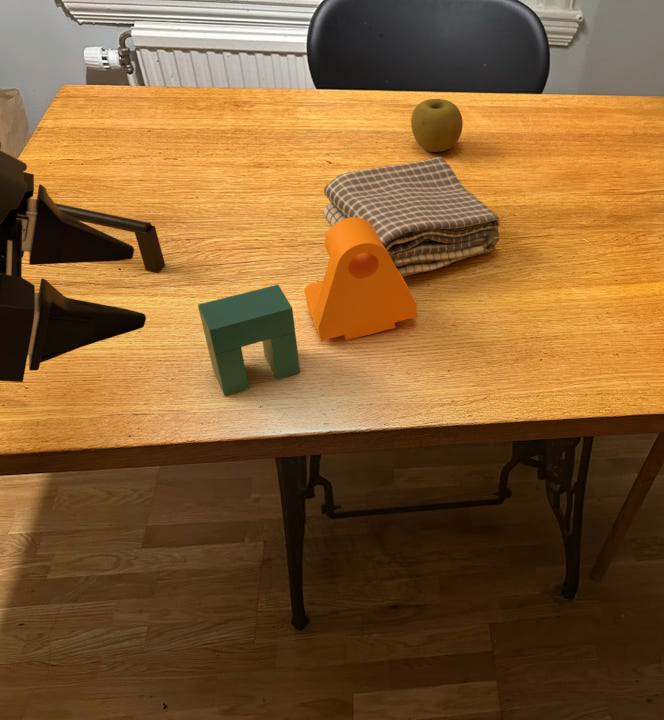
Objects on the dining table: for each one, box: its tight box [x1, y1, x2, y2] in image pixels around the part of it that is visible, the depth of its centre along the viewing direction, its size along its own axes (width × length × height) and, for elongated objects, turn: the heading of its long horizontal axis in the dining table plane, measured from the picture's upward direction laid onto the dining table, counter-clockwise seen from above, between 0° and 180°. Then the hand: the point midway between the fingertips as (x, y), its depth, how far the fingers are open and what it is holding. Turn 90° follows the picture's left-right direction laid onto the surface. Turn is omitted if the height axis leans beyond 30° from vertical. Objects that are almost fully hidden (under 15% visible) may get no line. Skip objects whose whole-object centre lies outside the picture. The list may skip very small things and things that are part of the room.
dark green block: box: [197, 284, 301, 397], centre depth 67 cm, size 8×4×8 cm, turn 121°
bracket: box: [303, 217, 418, 341], centre depth 74 cm, size 11×7×12 cm, turn 113°
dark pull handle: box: [54, 202, 166, 274], centre depth 79 cm, size 2×14×6 cm, turn 78°
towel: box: [322, 156, 501, 278], centre depth 86 cm, size 15×18×8 cm
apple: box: [410, 98, 464, 153], centre depth 106 cm, size 8×8×7 cm
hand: (138, 285), depth 55 cm, fingers open, 9 cm apart
